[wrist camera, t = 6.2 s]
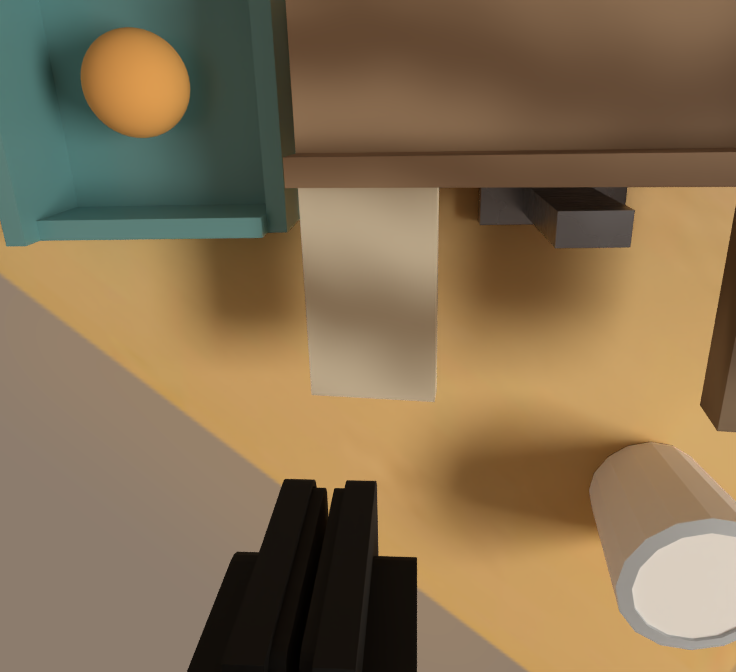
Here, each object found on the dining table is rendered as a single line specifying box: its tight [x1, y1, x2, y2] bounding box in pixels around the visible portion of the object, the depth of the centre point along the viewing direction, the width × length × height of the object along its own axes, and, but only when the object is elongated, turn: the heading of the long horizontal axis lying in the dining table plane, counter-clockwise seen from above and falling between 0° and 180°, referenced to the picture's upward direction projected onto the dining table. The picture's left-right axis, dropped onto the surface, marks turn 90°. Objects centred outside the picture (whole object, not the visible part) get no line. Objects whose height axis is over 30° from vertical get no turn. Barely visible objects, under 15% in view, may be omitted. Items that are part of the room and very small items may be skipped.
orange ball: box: [81, 27, 190, 138], centre depth 25 cm, size 4×4×4 cm
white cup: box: [589, 442, 736, 650], centre depth 29 cm, size 7×7×7 cm
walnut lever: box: [283, 0, 736, 432], centre depth 20 cm, size 16×20×4 cm
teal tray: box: [0, 0, 300, 246], centre depth 25 cm, size 12×11×5 cm
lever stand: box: [478, 187, 635, 248], centre depth 22 cm, size 12×6×8 cm, turn 2°
